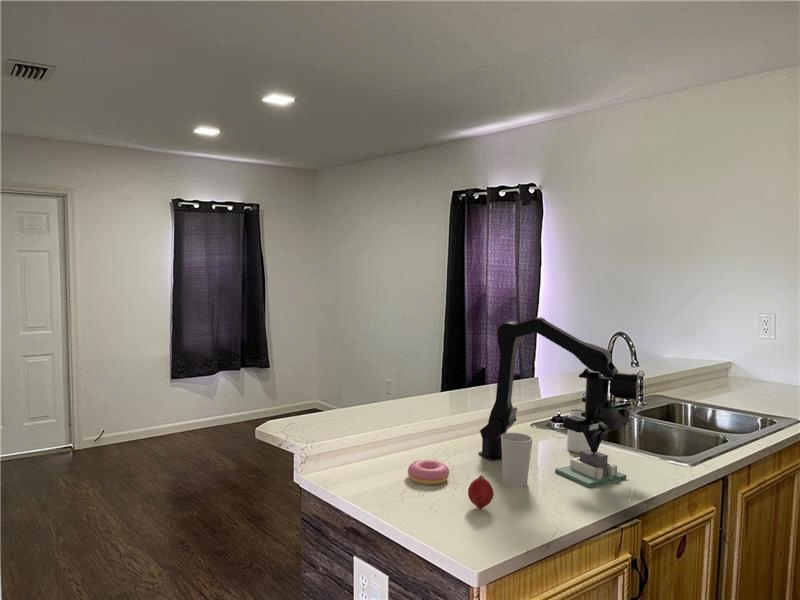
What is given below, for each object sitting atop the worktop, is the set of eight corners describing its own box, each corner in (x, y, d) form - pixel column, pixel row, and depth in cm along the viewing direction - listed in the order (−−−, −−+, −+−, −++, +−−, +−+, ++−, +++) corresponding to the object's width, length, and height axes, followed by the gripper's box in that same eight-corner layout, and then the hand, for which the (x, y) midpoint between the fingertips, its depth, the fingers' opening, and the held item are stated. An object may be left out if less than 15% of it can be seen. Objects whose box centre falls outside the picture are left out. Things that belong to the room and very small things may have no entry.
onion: (465, 503, 139) (466, 470, 139) (489, 503, 140) (490, 470, 139) (470, 514, 134) (471, 479, 133) (495, 513, 134) (496, 479, 134)
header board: (588, 487, 151) (589, 474, 151) (555, 472, 162) (555, 459, 161) (626, 478, 158) (627, 465, 158) (591, 464, 168) (592, 452, 168)
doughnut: (401, 474, 158) (401, 458, 158) (438, 469, 162) (439, 455, 161) (416, 489, 148) (417, 473, 147) (456, 484, 152) (457, 468, 151)
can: (590, 454, 177) (592, 415, 176) (567, 452, 178) (569, 413, 178) (587, 448, 183) (589, 410, 183) (566, 446, 185) (567, 408, 184)
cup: (532, 479, 156) (534, 434, 155) (528, 490, 148) (530, 443, 148) (502, 475, 158) (503, 431, 158) (496, 485, 151) (498, 439, 150)
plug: (599, 477, 156) (600, 458, 155) (579, 468, 162) (580, 450, 162) (609, 474, 158) (610, 456, 157) (589, 466, 164) (590, 448, 163)
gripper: (595, 405, 147) (592, 467, 148) (645, 398, 156) (642, 456, 157) (562, 396, 157) (560, 453, 158) (611, 390, 166) (609, 444, 167)
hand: (593, 452), depth 160 cm, fingers closed
